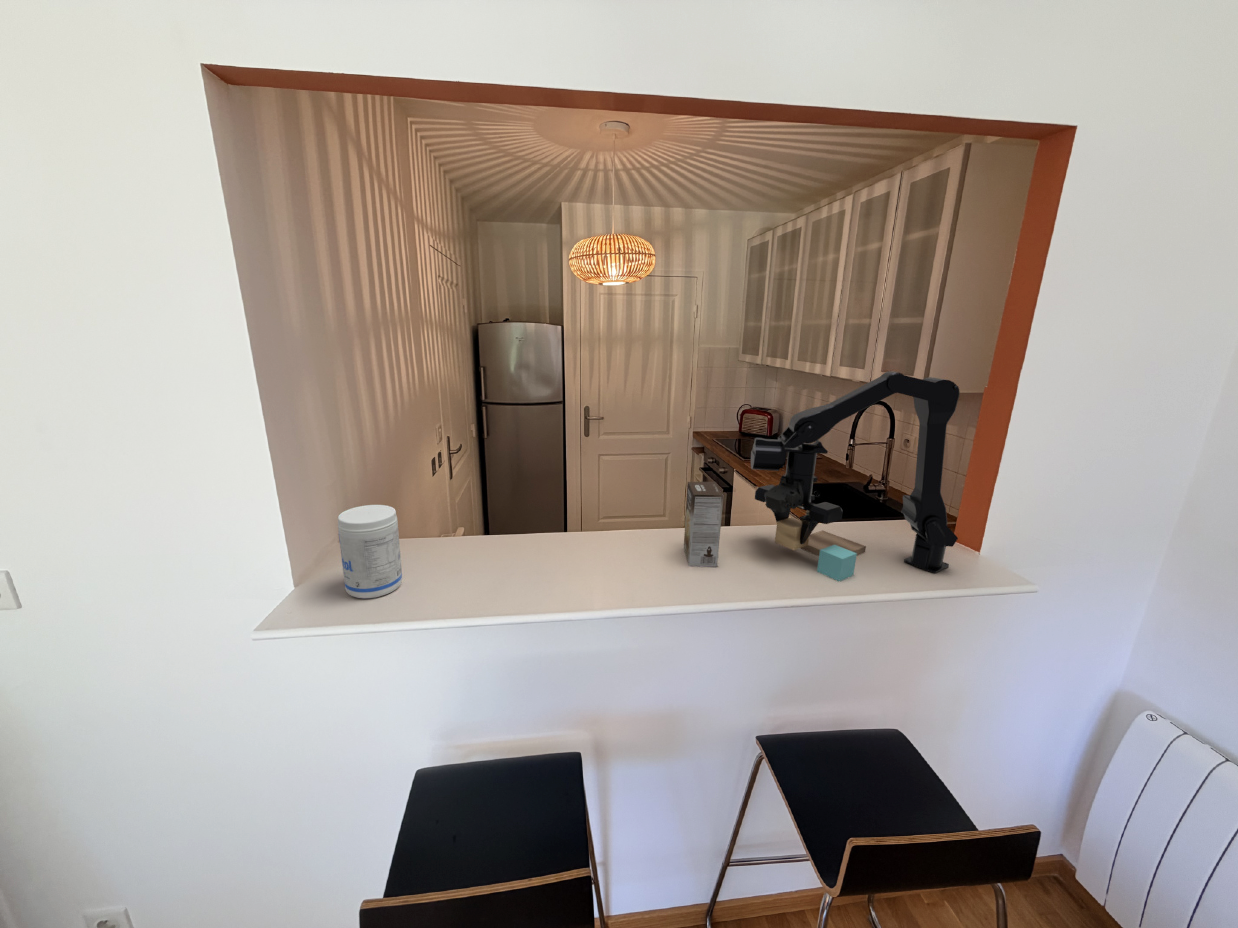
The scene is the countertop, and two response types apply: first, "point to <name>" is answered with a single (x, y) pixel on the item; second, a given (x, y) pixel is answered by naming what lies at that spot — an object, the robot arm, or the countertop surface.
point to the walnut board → (831, 543)
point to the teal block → (836, 562)
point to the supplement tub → (370, 550)
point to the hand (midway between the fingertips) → (791, 539)
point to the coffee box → (703, 523)
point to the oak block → (789, 533)
